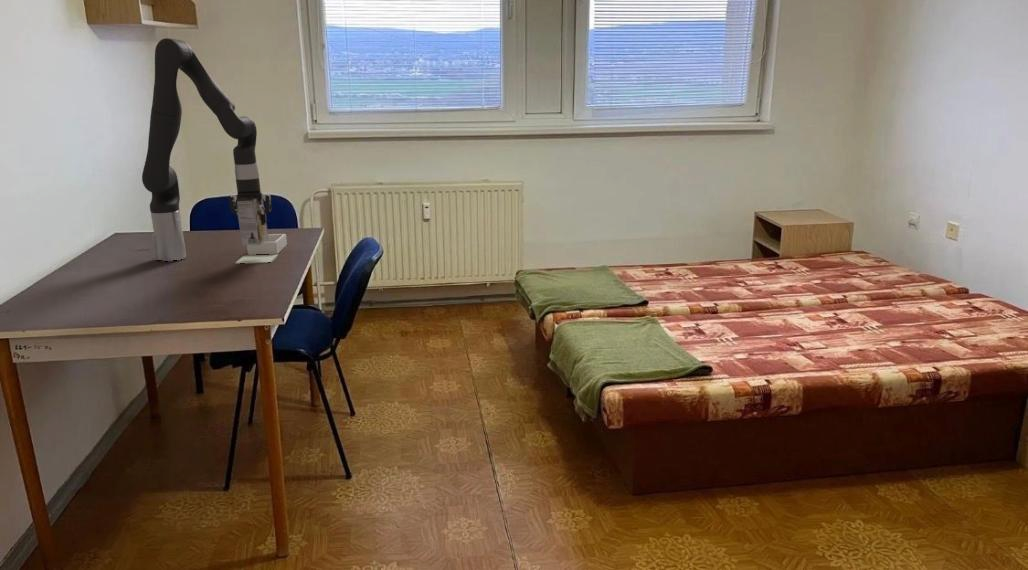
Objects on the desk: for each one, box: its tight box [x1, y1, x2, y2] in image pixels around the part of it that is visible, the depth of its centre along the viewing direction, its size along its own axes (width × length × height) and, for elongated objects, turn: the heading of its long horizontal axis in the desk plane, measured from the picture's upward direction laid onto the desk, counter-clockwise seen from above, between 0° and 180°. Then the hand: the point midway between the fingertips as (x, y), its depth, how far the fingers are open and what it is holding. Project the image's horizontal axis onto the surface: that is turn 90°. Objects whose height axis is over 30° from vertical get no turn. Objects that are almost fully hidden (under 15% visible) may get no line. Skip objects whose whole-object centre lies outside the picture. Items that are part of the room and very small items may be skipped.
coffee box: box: [235, 197, 269, 246], centre depth 252 cm, size 9×6×16 cm
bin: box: [246, 233, 288, 255], centre depth 269 cm, size 11×14×4 cm
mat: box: [235, 254, 279, 265], centre depth 256 cm, size 12×10×1 cm
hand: (253, 224), depth 253 cm, fingers closed on coffee box, 6 cm apart
